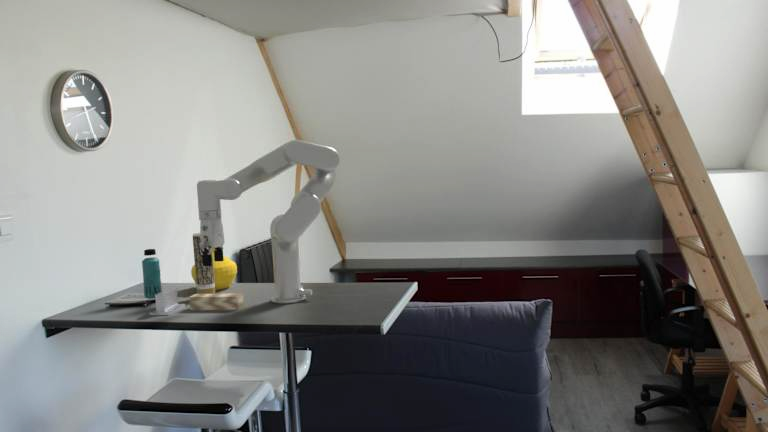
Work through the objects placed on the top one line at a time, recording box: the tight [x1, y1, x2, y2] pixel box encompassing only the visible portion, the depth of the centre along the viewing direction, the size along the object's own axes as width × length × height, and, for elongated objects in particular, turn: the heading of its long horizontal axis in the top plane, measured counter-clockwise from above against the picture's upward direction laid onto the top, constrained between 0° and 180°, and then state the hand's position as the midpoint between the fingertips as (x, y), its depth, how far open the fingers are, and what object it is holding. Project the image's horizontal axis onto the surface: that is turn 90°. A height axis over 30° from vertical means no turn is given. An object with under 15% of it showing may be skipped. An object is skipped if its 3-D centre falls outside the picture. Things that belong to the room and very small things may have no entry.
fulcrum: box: [149, 287, 186, 316], centre depth 208 cm, size 7×12×7 cm, turn 173°
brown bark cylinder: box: [192, 232, 216, 294], centre depth 225 cm, size 7×7×25 cm
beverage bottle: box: [141, 248, 163, 300], centre depth 225 cm, size 6×7×20 cm
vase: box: [190, 247, 238, 291], centre depth 243 cm, size 18×18×19 cm
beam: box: [188, 292, 245, 311], centre depth 208 cm, size 18×5×5 cm, turn 82°
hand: (213, 263), depth 207 cm, fingers open, 9 cm apart
